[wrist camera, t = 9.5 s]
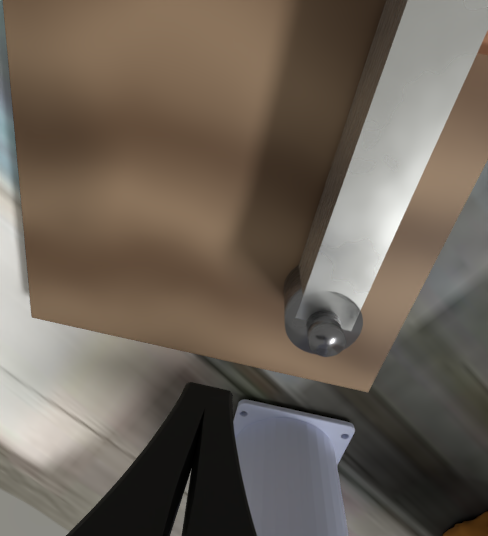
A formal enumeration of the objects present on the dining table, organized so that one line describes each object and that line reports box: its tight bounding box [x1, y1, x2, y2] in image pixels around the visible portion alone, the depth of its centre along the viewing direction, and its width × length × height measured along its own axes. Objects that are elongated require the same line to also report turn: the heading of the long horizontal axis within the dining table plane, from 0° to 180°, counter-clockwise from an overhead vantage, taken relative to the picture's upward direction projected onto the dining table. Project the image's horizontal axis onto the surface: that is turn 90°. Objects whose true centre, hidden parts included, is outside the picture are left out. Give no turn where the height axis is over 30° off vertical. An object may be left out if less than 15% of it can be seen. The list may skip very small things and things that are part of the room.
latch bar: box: [283, 0, 488, 357], centre depth 12 cm, size 15×3×4 cm, turn 167°
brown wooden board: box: [3, 0, 488, 392], centre depth 14 cm, size 21×20×4 cm
